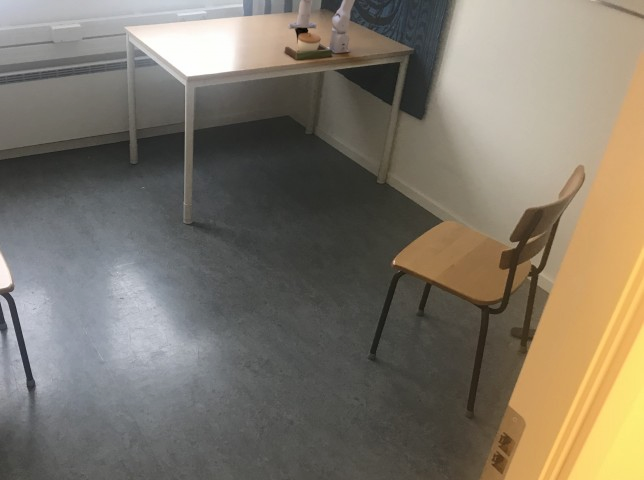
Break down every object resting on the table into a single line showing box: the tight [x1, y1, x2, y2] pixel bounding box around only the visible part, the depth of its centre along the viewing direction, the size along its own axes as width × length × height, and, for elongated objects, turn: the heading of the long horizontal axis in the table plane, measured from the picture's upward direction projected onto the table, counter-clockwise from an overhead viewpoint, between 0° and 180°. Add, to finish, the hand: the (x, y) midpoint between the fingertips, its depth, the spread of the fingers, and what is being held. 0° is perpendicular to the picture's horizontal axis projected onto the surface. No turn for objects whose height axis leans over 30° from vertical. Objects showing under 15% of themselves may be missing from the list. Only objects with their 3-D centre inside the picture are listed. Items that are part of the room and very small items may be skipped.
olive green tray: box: [284, 43, 333, 61], centre depth 339 cm, size 12×19×3 cm, turn 111°
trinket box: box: [297, 32, 322, 52], centre depth 336 cm, size 11×11×9 cm
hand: (299, 43), depth 343 cm, fingers closed, pressing on trinket box
